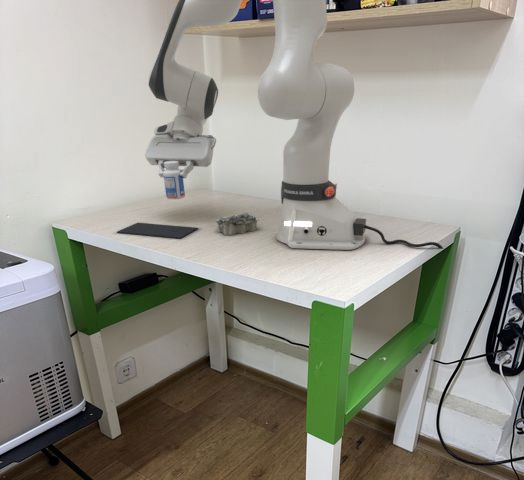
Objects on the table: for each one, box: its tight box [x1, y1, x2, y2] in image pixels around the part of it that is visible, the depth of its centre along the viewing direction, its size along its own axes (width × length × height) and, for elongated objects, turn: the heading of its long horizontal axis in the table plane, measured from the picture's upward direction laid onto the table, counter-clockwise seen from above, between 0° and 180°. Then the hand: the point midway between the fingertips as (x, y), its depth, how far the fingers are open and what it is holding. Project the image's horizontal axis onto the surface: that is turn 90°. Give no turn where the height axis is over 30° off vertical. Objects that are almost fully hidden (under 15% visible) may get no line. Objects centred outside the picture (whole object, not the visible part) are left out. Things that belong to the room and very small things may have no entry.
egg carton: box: [214, 211, 260, 236], centre depth 131 cm, size 11×8×4 cm
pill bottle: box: [163, 161, 186, 200], centre depth 136 cm, size 6×5×10 cm
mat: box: [116, 222, 199, 240], centre depth 133 cm, size 20×10×1 cm, turn 69°
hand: (171, 176), depth 135 cm, fingers closed on pill bottle, 5 cm apart
